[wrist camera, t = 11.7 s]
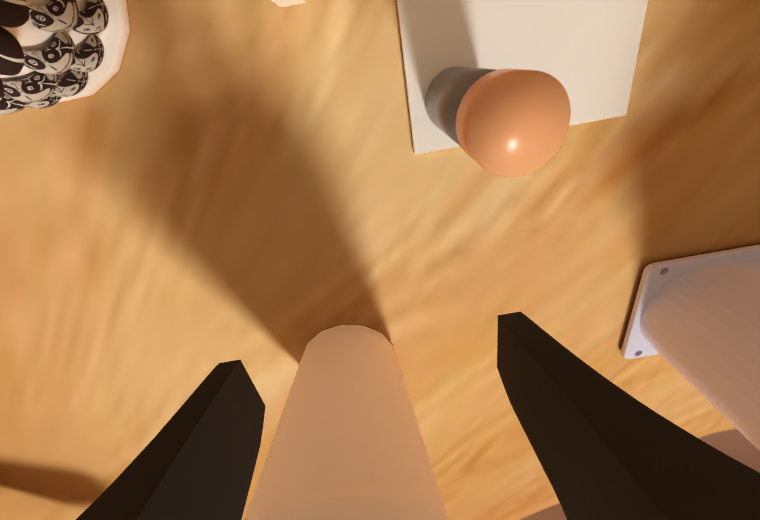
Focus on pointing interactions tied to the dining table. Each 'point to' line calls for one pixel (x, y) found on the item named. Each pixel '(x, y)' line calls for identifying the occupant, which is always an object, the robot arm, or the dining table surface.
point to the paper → (523, 50)
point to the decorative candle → (58, 49)
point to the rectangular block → (288, 2)
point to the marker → (501, 116)
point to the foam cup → (347, 439)
